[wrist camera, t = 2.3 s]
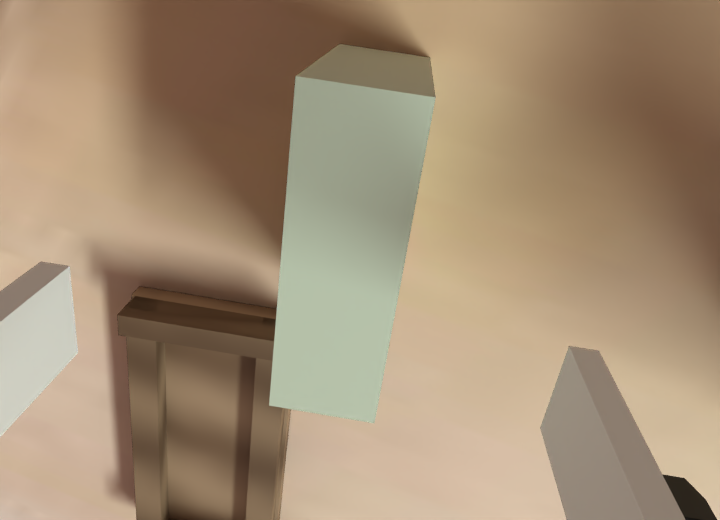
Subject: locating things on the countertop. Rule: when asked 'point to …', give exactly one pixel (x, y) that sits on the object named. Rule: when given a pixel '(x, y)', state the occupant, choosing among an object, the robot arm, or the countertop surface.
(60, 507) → the countertop surface
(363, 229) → the rectangular block
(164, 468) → the track
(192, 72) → the countertop surface
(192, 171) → the countertop surface
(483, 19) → the countertop surface
